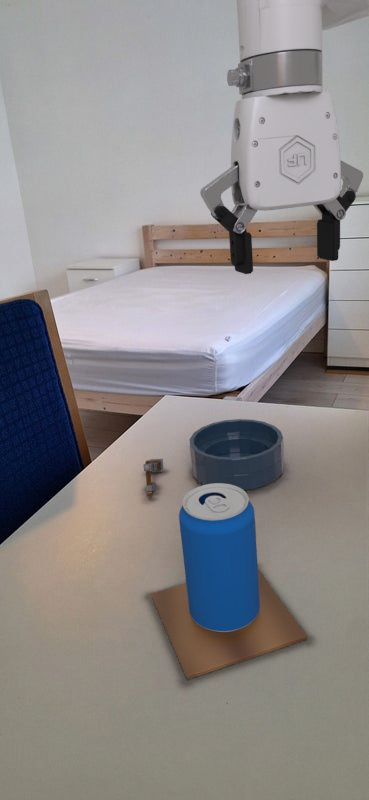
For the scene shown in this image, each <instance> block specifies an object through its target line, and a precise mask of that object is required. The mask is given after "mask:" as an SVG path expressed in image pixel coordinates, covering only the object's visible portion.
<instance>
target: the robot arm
mask: <svg viewBox="0 0 369 800" xmlns="http://www.w3.org/2000/svg"><path fill="white" fill-rule="evenodd" d="M236 6H237V7H236V11H237V25H238V26H237V30H238V43H239V44H238V47H239V63H237V67H236V68H235V69H229V70H228V71H227V74H226V82H227V85H228V86H229V87H235V88H238V90H239V95H241V99H239V100H236V102H235V107H234V113H233V121H232V131H231V146H230V147H231V148H230V167H229V168H228V169H227V170H225V171H224V172H223V173H221V174H220V175H217V177H215V178H214V179H212V180H211V181H210V182H209V183H207V184H206V185H205V186H203V187H201V189H200V191H199V193H200V197H201V198H202V200H203V202H204V203H205V205H206V208H207V209H208V210H209V211H210V215H211V217H212V218H213V219H214V220H215V221H216V222H218V223H219V224H220V225H221V226H222V227H223V228H224V230H225V231H226V232H228V237H229V238H228V239H229V253H230V262H231V265H232V266H233V267H234V270H235V272H238V273H241V274H244V275H249V274H252V273H253V272H254V259H253V257H254V256H253V241H252V240H253V239H252V234H251V232H248V231H247V228H248V226H249V225H250V223H251V222H252V220H253V218H254V217H255V215H257V212H258V211H264V212H265V211H275V210H285V209H293V208H301V207H308V206H309V207H310V206H313V207H314V208H315V210H316V211H317V212H318V213H319V215H320V216H321V219H317V222H316V254H317V255H316V257H317V258H319V259H321V260H326V261H331V262H335V261H338V260H339V251H340V249H341V221H342V220H344V219H345V218H346V215H347V211H348V210H349V209H350V207H352V204H353V203H354V202H355V200H356V198H357V197H356V194H357V193H358V191H359V188H360V186H361V183H362V181H363V180H364V179H363V178H364V173H363V171H362V170H360V169H358V168H356V167H354V166H353V165H350V164H348V163H347V162H345V161H343V160H342V159H341V151H340V139H339V129H338V121H337V115H336V110H335V104H334V101H333V95H332V92H331V91H324V90H323V32H324V31H328V30H330V29H334V28H336V27H340V26H342V25H345V24H348V23H352V22H355V21H357V20H360V19H364V18H367V17H369V0H236ZM230 188H231V197H232V201H233V204H234V207H233V208H232V209H231V210H230V209H229V208H228V207H227V206H225V205H224V202H223V199H222V194H223V193H224V192H225V191H227V190H228V189H230Z"/></svg>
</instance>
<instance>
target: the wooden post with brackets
mask: <svg viewBox="0 0 369 800" xmlns="http://www.w3.org/2000/svg"><path fill="white" fill-rule="evenodd" d="M142 465H143V472H145V482H146V484H145V491H146V497H149V498H151V497H152V496H153V491H156V489H157V482H156V481H152V473H163V472H164V459H163V458H149V459H148V460H146V461H145V463H143V464H142Z"/></svg>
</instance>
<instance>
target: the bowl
mask: <svg viewBox="0 0 369 800" xmlns="http://www.w3.org/2000/svg"><path fill="white" fill-rule="evenodd" d="M284 451H285V450H284V435H283V433H282V431H281V430H280V429H279V428H278V427H277V426H275V425H273V424H272V423H271V424H270V423H268V422H266V421H263V420H262V421H261V420H257V419H248V418H247V419H245V418H244V419H243V418H236V419H225V420H219V421H216V422H212V423H209V424H207V425H204V426H202V427H200V428H198V429H197V430H196V431H194V432H193V433H192V435H191V436H190V437H189V452H190V464H191V472H192V476H193V478H195V480H196V481H197V482H199V483H201V484H202V485H207V484H214V483H223V484H230V485H234V486H237V487H239V488H241V489H243V490H244V491H248V490H253V489H254V490H255V489H257V488H261V487H265V486H266V485H269V484H271V483H272V482H275V481H276V480H277V479H278V478H279V477H280V476H281V475H282V474H283V472H284V468H285V454H284Z"/></svg>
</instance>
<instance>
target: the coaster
mask: <svg viewBox="0 0 369 800" xmlns="http://www.w3.org/2000/svg"><path fill="white" fill-rule="evenodd" d="M258 581H259V599H260V609H259V613H258V615H257V617H256V618H255V619H254V620H253V621H252V622H251V623H250V624H248V625H247V626H245V627H243V628H241V629H238V630H235V631H231V632H217V631H212V630H209V629H206V628H204V627H202V626H200V625H199V624H197V623H196V622H195V621H194V620H193V618H192V617H191V614H190V611H189V603H188V594H187V585H186V583H185V584H180V585H177V586H173V587H170V588H167V589H163V590H160V591H156V592H153V593H151V594H150V596H151V599H152V602H153V604H154V607H155V608H156V610H157V613H158V616H159V618H160V620H161V622H162V625H163V627H164V629H165V631H166V634H167V637H168V638H169V641H170V643H171V646H172V649H173V650H174V652H175V656H176V657H177V659H178V661H179V664H180V666H181V669H182V671H183V674H184V676H185V678H186V680H191V679H194V678H198V677H200V676H203V675H206V674H208V673H212V672H214V671H218V670H220V669H224V668H227V667H230V666H232V665H235V664H238V663H242V662H244V661H248V660H251V659H254V658H256V657H259V656H262V655H266V654H268V653H271V652H274V651H277V650H281V649H283V648H286V647H289V646H292V645H296V644H298V643H301V642H304V641H307V640H308V634H306V632H305V631H304V630H303V628H302V627H301V626H300V624H299V623H298V621H297V620H296V619H295V617H294V616H293V614H291V612H290V611H289V609H288V608H287V607H286V605H285V604H284V603H283V601H282V600H281V598H280V597H279V595H277V592H276V591H275V590H274V589H273V588H272V586H271V585H270V584H269V583H268V581H267V580H266V578H265V577H264V575H263V574H262V573H261V571H260V570H259V569H258Z"/></svg>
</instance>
